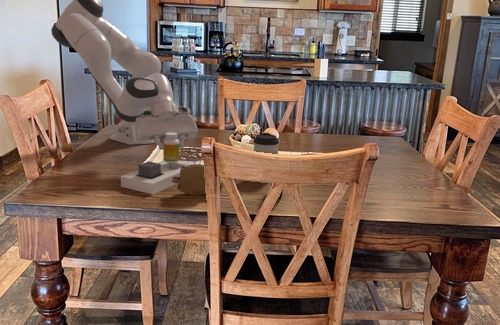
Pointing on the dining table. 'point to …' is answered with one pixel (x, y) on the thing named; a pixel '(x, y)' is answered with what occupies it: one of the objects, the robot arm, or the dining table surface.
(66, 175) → the dining table surface
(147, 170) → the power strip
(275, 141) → the coffee cup
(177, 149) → the supplement bottle
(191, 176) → the wooden carving
